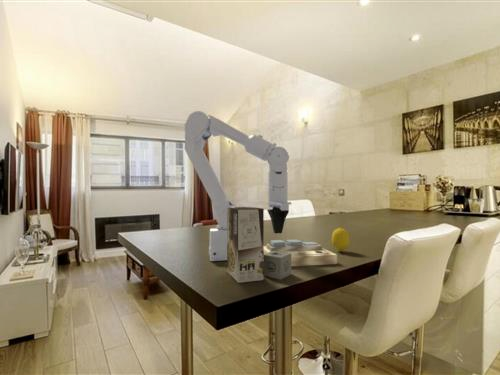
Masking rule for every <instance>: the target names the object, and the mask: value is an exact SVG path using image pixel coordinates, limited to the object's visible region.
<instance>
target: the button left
mask: <svg viewBox="0 0 500 375" xmlns="http://www.w3.org/2000/svg"><path fill="white" fill-rule="evenodd" d="M269 241H270V244H271V246H272V247H286V241H284V240H282V239H273V240H269Z"/></svg>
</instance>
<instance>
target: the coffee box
mask: <svg viewBox="0 0 500 375" xmlns="http://www.w3.org/2000/svg"><path fill="white" fill-rule="evenodd" d="M264 210H265V209H264V208H261V207H253V206H236V207H235V208H227V260H226V264H227V266H226V267H227V268H226V272H227V273H228V274H229V275H230V276H231V277H232V279H234V280H235V281H236V282H237V283H238V284H239V283H249V282H257V281H258V282H259V281H263V280H264V277H265V276H264V246H265V244H264V237H265V236H264V232H265V231H264V229H265V228H264V225H265V223H264V221H265V220H264V218H265V217H264V216H265V215H264V214H265V213H264V212H265V211H264Z"/></svg>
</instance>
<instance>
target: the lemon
mask: <svg viewBox="0 0 500 375" xmlns="http://www.w3.org/2000/svg"><path fill="white" fill-rule="evenodd" d="M331 243H332V246H333V247H334V248H335V249H336V250H338V251H339V252H340V253H341V252H343V251H344V250H346V249H347V248H348V247H349V245H350V235H349V232H348V231H347V230H346V229H345V228H343V227H338V228H336V229H334V230H333V232H332V235H331Z"/></svg>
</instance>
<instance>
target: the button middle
mask: <svg viewBox="0 0 500 375" xmlns="http://www.w3.org/2000/svg"><path fill="white" fill-rule="evenodd" d="M302 242H303V241H301V240H299V239H286V240H285V243H286V245H288V246H302Z"/></svg>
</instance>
